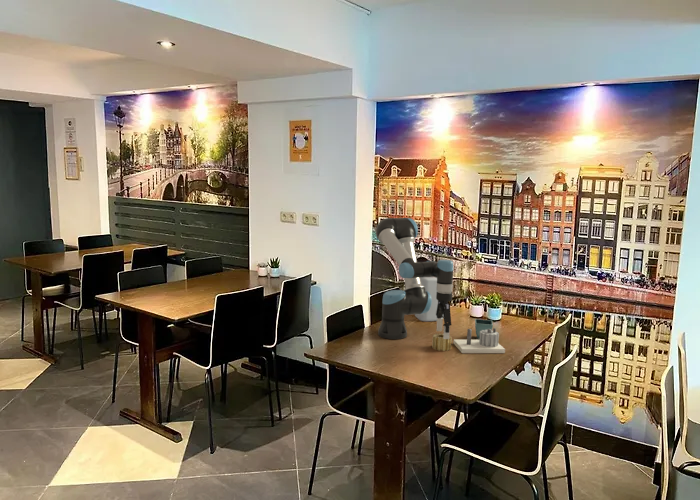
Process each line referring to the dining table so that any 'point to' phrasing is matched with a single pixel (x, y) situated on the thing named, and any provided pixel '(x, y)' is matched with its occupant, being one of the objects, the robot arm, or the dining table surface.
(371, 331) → the dining table surface
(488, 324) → the flower pot
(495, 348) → the gear board
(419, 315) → the plastic bottle
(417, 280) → the robot arm
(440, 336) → the brass gear
